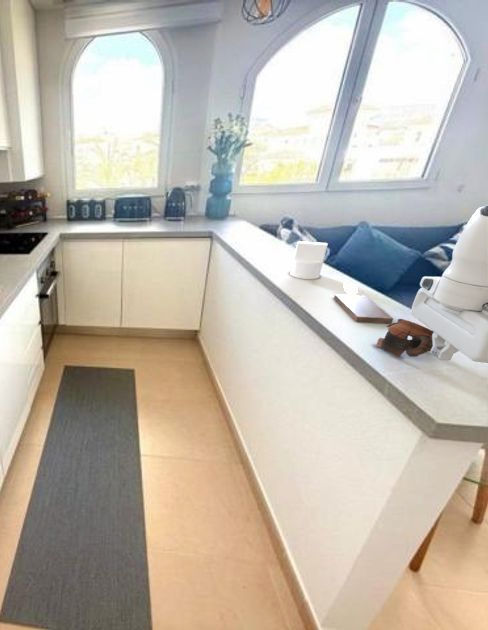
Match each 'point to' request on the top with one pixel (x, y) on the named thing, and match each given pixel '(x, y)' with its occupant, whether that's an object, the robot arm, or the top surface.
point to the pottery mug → (398, 340)
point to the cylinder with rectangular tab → (308, 259)
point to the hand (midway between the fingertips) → (439, 356)
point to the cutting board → (362, 309)
